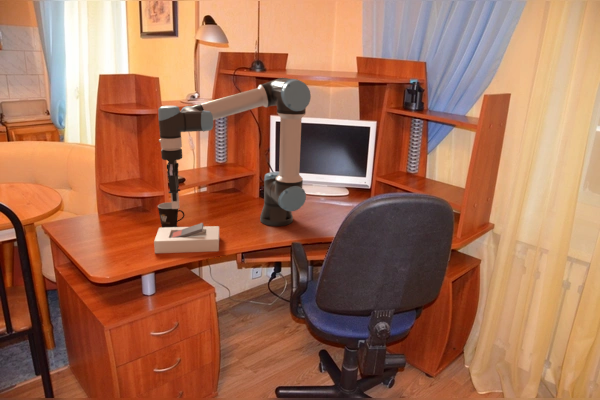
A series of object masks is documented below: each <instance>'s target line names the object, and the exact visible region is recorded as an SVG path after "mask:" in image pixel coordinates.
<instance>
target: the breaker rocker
mask: <svg viewBox="0 0 600 400" xmlns="http://www.w3.org/2000/svg"><path fill="white" fill-rule="evenodd" d="M204 226H205V225H204V222H200V223H198V224H194V225H192V226H187V227H188V228H185V229H182V230H179V231H176V232H173V233H172V236H171V238H179V237H188V236H191V235H194V234H197V233H199V232H202V231H203V227H204Z"/></svg>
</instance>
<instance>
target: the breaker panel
mask: <svg viewBox="0 0 600 400" xmlns="http://www.w3.org/2000/svg"><path fill="white" fill-rule="evenodd" d="M188 227H189V226H177V227H165V228H162V227H158V229H157V233H156V236H155V238H154V241H153V245H154V247H153V249H154V254H172V253H173V254H174V253H175V254H177V253H204V252H219V251H220V226H218V225H217V226H215V225H213V226H211V225H210V226H209V225H207V226H206V225H204V227H203V231H202V232H199V233H197V234H194V235H191V236H188V237H179V238H171V236H172V233H173V232H176V231H179V230H182V229H185V228H188Z"/></svg>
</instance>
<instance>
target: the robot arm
mask: <svg viewBox="0 0 600 400" xmlns="http://www.w3.org/2000/svg"><path fill="white" fill-rule="evenodd" d="M311 97H312V96H311V90H310V88H309V86H308V85H307V84H306V83H305V82H303V81H302V80H300V79H296V78H288V77H279V78H277V79H273V80H270V81H267V82H265V83H262V84H258V86H257V88H253V89H250V90H244V91H242V92H239V93H236V94H232V95H227V96H224V97H221V98H217V99H214V100H210V101H207V102H203V103H200V104H196V105H186V106H184V107H182V109H181V110H180V107H179V106H178V105H162V106H160V107H159V108H158V110H157V111H158V113H157V115H158V128H159V138H160V139H158V142H159V143H160V148H161V149H160V153H161V154H160V155H161V159H162V160H164V161H167V164H166V169H167V171H166V172H167V173H166V174H167V176H168V187H169V191H168V194H170V200H171V201H170V202H171V203H172V209H178V210H180V196H179V192H181V188H180V186H179V166H180V165H179V162H178V161H179V160H182V158H183V150H182V147H183V144H182V143H183V141H182V133H188V132H189V133H190V132H208V131H212V130H213V128H214V121H215V120H219V119H222V118H225V117H229V116H232V115H236V114H240V113H242V112H247V111H250V110H252V109H256V108H259V107H264V108H269V107H274V106H276V114H277V115H278V116H279V118H280V123H279V124H280V126H279V127H280V131H279V161H278V162H279V163H278V165H279V168H278V171H272V172H267V173H265V174H264V177H263V178H264V179H263V184H264V188H263V189H264V190H263V191H264V192H263V196H264V197H263V207H262V209H261V212H260V213H261V214H260V217H259V218H260V219H259V220H260V223H262V224H263V225H266V226H269V227H270V226H271V227H284V226H288V225H291V224H292V223H293V220H294V219H293V218H294V216H293V212H296V211H298V210H300V209H301V208H302V207H303V206H304V205H305V203H306V200H307V192H306V191H305V189H304V188H303V180H304V179H303V177H302V176H301V175H300V168H301V167H300V166H301V165H300V163H301V161H300V160H301V142H302V140H301V139H302V137H301V136H302V120H303V117H304V116H305V115H306V113H307V112H306V109H307V107H308V106H309V104H310V102H311Z"/></svg>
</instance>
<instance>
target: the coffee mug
mask: <svg viewBox="0 0 600 400" xmlns="http://www.w3.org/2000/svg"><path fill="white" fill-rule="evenodd" d="M157 211H158V215H159V220H160V224H161V228H165V227H178V222H180V221H182V220H183V219H184V218H185V216H186V214H185V212H184V211H183V210H181V209H172V203H171V201H170V202H162V203H160V204H158V205H157ZM179 212H180V213H182V217H181V218H180V219H178V217H179V215H178V213H179Z"/></svg>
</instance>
